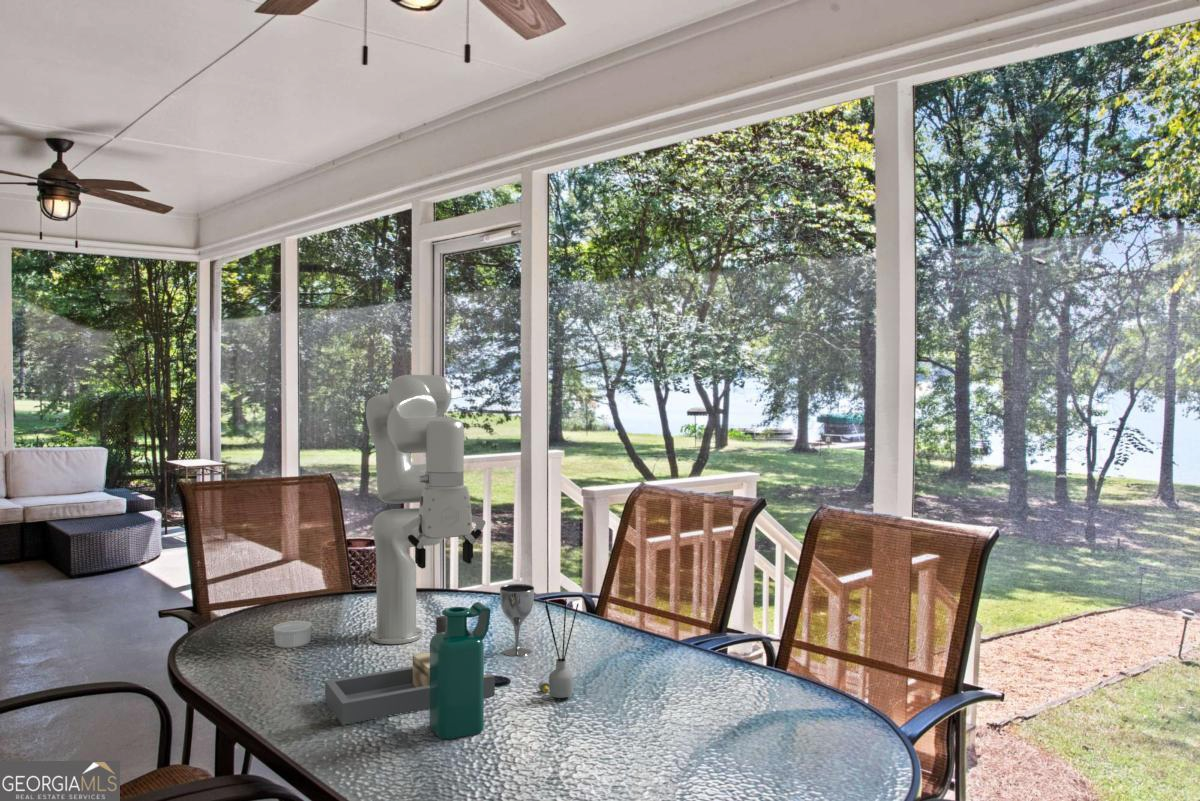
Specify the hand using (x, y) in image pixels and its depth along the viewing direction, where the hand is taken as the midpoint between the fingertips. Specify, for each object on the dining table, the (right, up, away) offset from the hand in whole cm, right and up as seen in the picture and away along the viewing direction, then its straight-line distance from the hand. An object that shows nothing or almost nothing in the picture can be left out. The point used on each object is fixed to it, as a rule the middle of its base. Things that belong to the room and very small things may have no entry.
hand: (444, 564), depth 172 cm
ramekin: (-43, -26, +33) cm, 60 cm away
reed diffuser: (+23, -26, -3) cm, 35 cm away
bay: (-6, -26, -3) cm, 27 cm away
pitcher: (+6, -26, -18) cm, 33 cm away
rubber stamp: (0, -25, 0) cm, 25 cm away
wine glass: (+12, -26, +27) cm, 39 cm away
